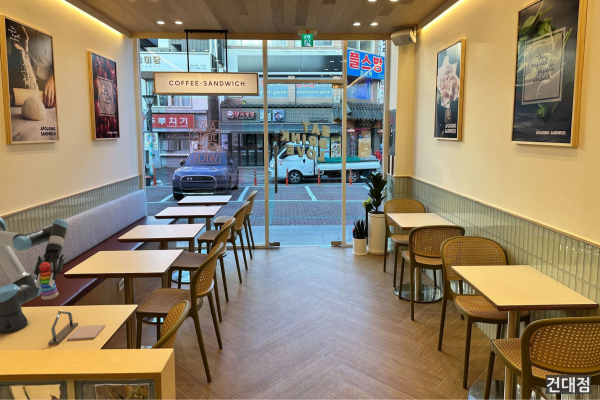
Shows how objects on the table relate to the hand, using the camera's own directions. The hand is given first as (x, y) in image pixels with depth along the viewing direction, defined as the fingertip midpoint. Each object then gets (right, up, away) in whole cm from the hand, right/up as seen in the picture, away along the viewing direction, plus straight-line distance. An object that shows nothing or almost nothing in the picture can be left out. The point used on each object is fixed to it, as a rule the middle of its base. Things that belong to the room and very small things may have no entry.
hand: (44, 286), depth 236 cm
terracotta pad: (+17, -27, +10) cm, 33 cm away
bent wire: (+5, -27, +10) cm, 30 cm away
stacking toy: (+1, -7, +5) cm, 8 cm away
